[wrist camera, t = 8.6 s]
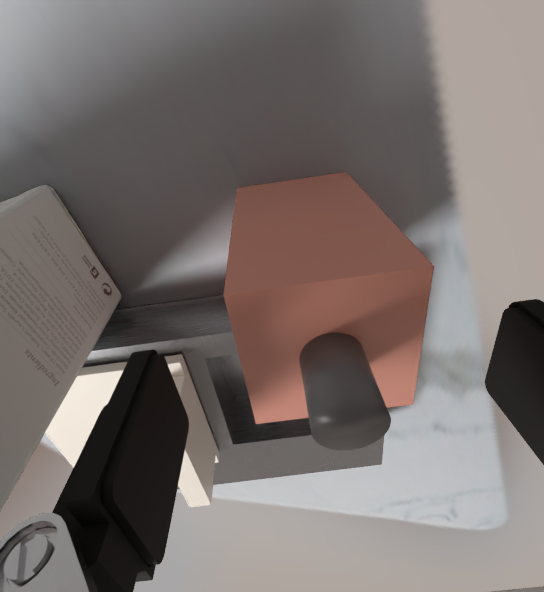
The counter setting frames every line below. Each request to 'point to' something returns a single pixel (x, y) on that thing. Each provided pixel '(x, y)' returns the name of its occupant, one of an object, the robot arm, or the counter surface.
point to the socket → (223, 390)
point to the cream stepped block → (96, 394)
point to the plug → (325, 307)
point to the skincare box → (43, 319)
